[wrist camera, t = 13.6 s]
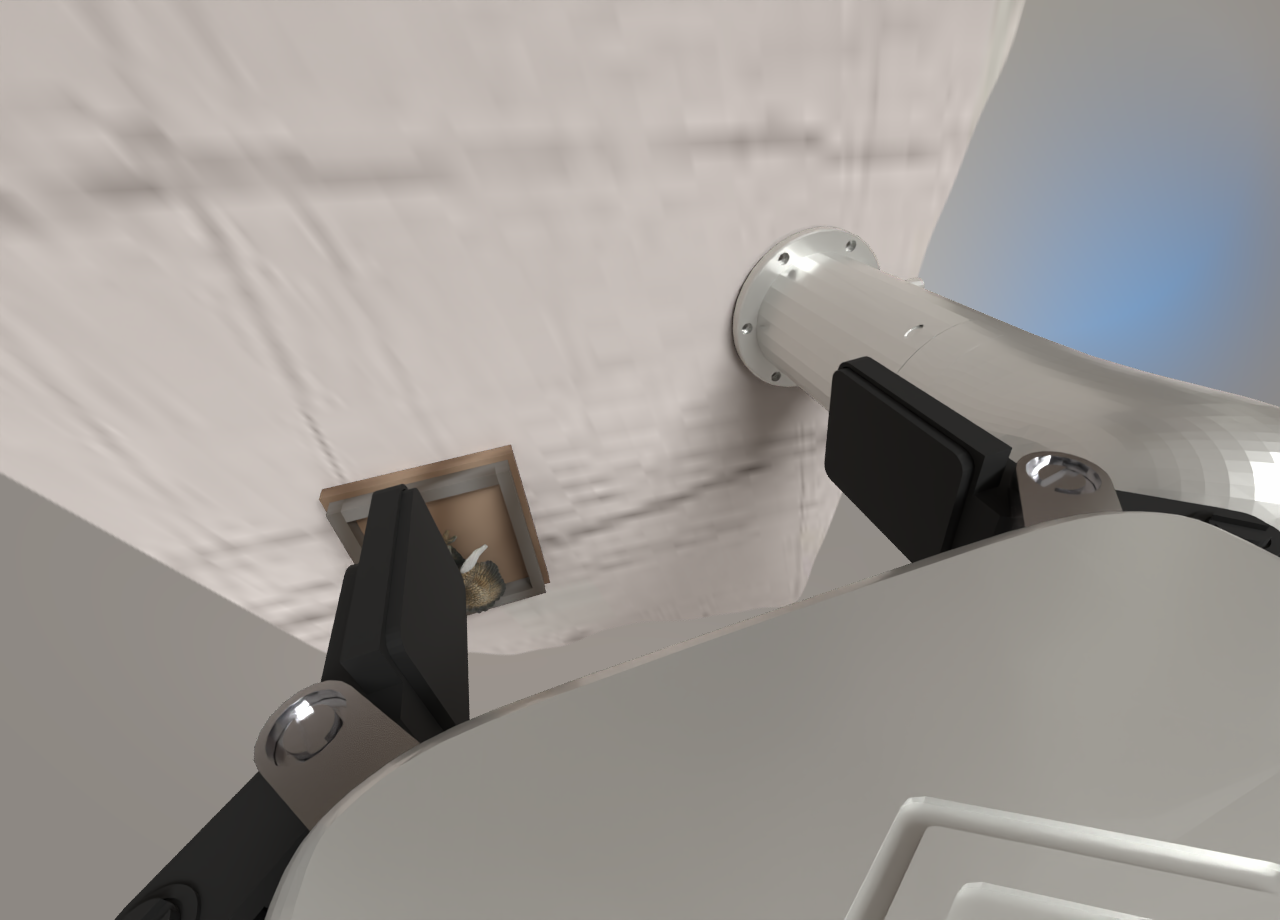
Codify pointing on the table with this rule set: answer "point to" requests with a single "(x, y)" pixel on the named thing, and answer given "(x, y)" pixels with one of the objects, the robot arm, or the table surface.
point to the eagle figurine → (477, 578)
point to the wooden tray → (459, 514)
